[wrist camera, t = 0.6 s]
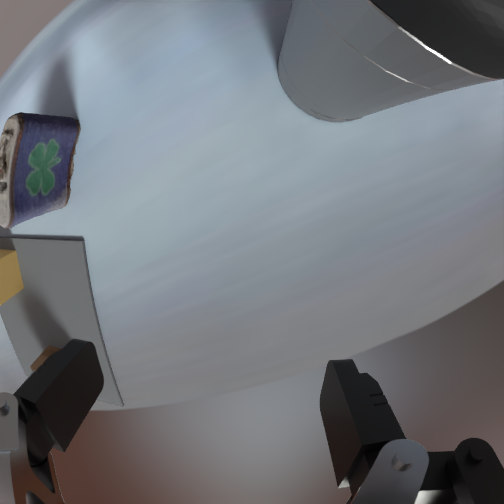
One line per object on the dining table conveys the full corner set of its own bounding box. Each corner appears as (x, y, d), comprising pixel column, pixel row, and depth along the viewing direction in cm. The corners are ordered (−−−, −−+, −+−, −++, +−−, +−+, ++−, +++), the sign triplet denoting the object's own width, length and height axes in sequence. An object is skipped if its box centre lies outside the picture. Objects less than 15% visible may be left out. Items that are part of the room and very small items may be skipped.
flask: (69, 209, 24) (-5, 239, 14) (49, 204, 24) (-23, 230, 14) (84, 118, 21) (6, 110, 11) (63, 117, 21) (-13, 110, 11)
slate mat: (-17, 236, 25) (-19, 237, 25) (84, 240, 25) (82, 241, 25) (27, 373, 33) (26, 375, 33) (124, 405, 33) (123, 406, 32)
